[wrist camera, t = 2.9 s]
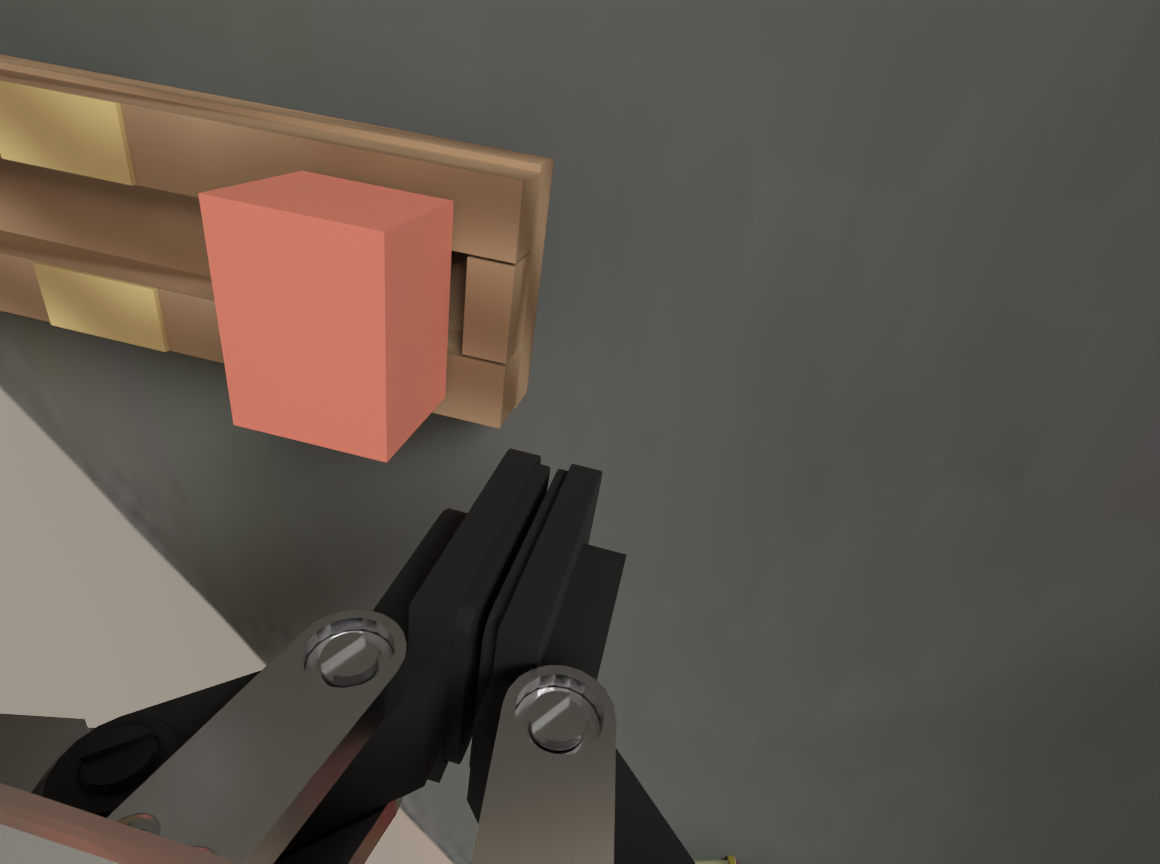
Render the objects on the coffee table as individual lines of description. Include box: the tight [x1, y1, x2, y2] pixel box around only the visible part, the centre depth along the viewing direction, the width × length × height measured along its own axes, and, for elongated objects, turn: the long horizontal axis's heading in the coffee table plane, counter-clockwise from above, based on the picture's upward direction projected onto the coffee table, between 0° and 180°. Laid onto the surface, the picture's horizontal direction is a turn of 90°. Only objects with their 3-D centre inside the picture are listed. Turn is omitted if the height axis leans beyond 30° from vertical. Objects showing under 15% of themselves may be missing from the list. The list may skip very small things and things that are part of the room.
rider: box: [198, 171, 454, 463], centre depth 18 cm, size 6×4×6 cm
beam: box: [0, 54, 554, 429], centre depth 23 cm, size 8×28×6 cm, turn 81°
